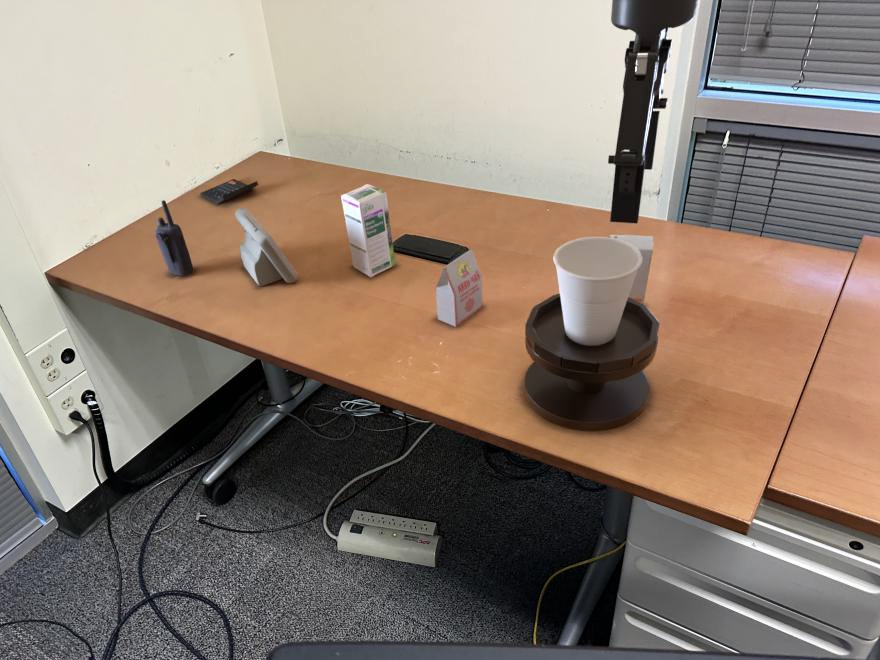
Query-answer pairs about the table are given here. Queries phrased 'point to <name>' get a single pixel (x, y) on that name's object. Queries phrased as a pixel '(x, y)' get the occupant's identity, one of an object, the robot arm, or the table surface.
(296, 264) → the table surface
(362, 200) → the syrup box
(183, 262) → the two-way radio
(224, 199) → the calculator
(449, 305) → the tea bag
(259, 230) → the digital clock
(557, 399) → the cup stand
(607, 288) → the cup
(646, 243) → the cosmetic box
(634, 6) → the robot arm
